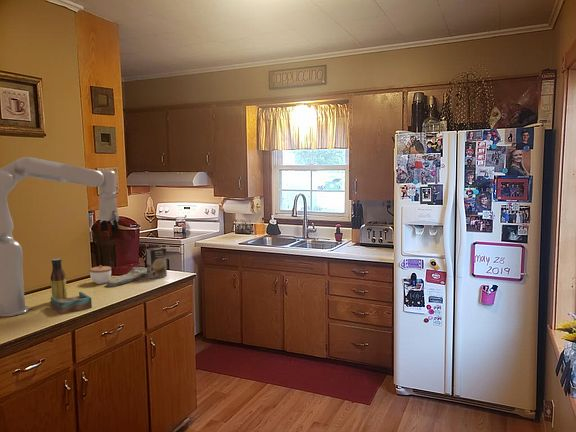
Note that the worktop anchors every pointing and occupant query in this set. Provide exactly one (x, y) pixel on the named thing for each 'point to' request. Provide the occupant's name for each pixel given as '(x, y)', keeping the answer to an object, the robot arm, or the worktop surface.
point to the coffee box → (156, 263)
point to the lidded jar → (100, 274)
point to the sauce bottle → (58, 280)
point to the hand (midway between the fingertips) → (109, 232)
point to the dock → (71, 303)
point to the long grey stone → (128, 277)
